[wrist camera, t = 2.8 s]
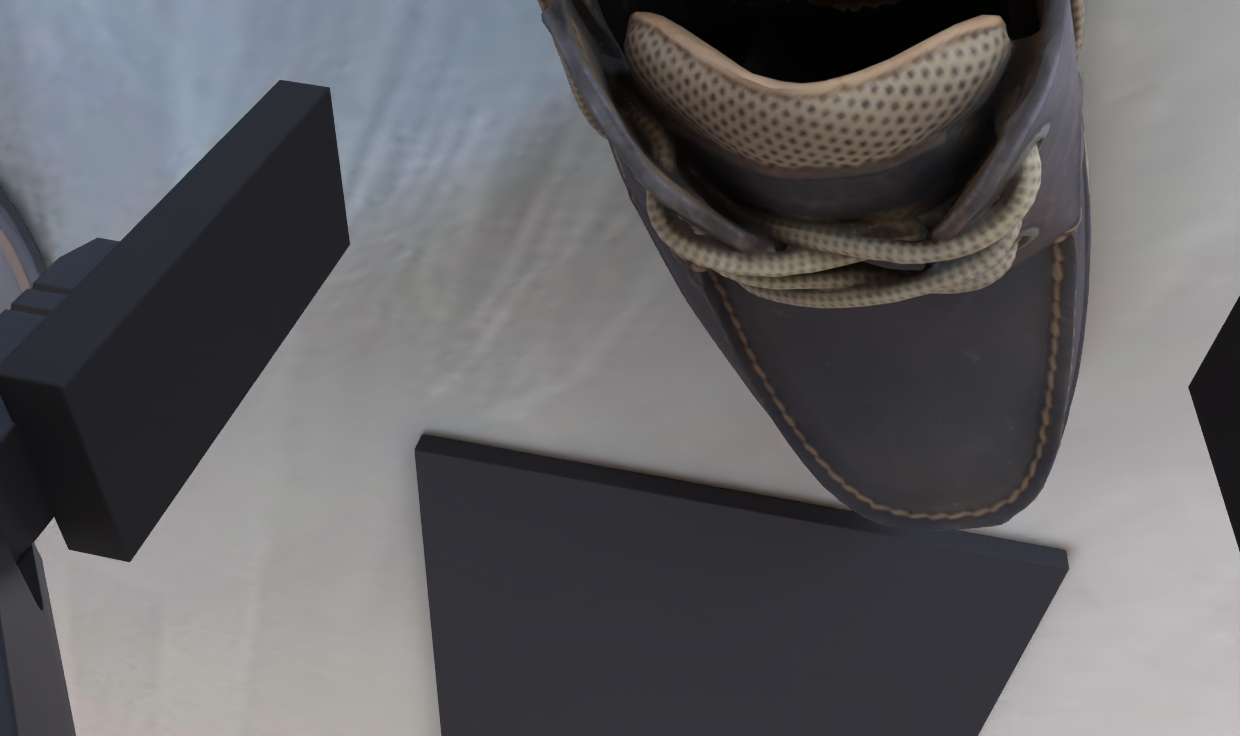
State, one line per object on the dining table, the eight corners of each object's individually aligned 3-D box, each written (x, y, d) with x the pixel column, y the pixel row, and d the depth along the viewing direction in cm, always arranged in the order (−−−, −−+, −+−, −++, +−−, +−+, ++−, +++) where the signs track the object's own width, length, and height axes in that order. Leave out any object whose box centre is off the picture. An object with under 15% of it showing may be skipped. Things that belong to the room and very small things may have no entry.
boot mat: (451, 774, 53) (446, 790, 52) (421, 433, 37) (413, 450, 36) (895, 868, 51) (896, 885, 50) (1066, 550, 35) (1069, 569, 34)
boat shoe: (769, 442, 34) (734, 744, 26) (234, -753, 18) (-270, -914, 10) (1138, 379, 30) (1231, 716, 22) (859, -1248, 14) (830, -2171, 6)
